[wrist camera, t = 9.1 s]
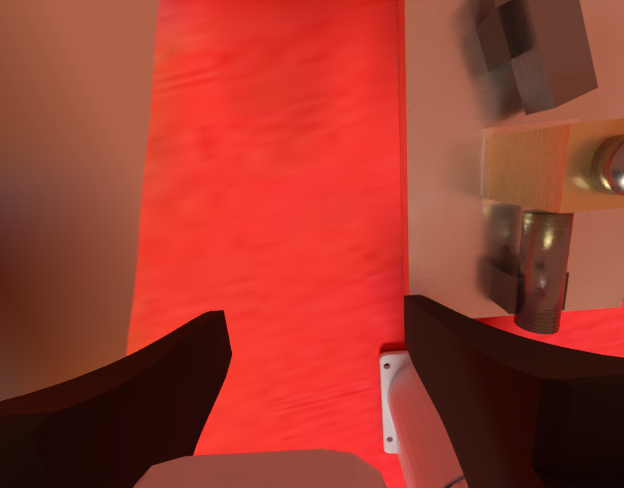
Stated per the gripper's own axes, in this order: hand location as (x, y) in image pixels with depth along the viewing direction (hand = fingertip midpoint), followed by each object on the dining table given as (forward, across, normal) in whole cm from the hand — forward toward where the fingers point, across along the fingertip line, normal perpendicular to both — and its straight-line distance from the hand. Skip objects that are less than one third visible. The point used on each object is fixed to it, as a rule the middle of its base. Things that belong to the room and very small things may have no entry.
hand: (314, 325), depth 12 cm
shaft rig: (+9, -13, -5) cm, 17 cm away
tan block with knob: (+8, -13, -5) cm, 16 cm away
